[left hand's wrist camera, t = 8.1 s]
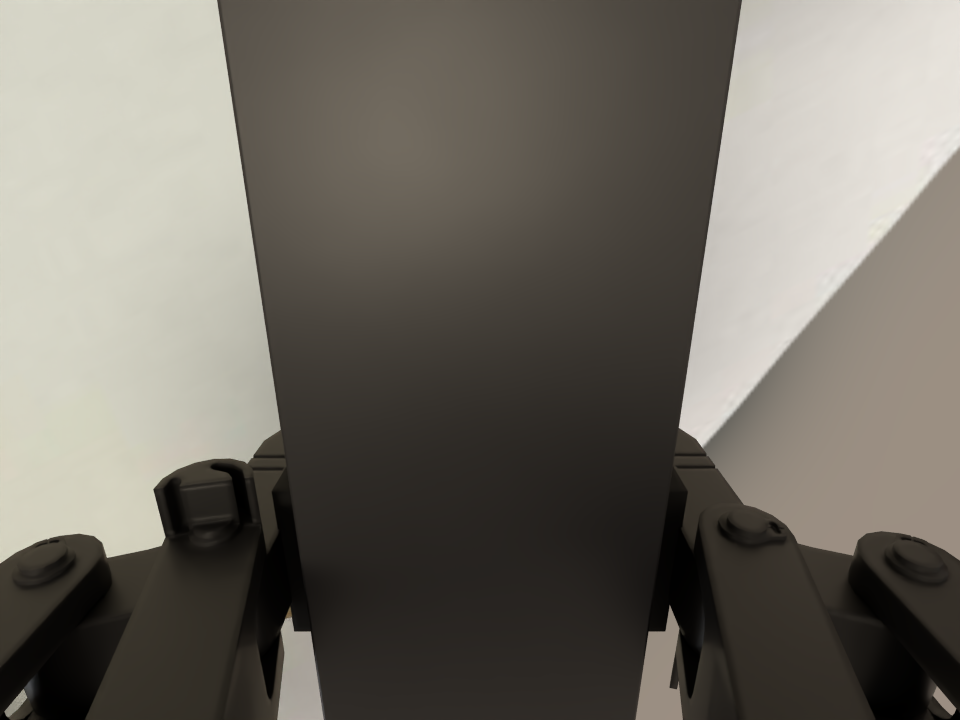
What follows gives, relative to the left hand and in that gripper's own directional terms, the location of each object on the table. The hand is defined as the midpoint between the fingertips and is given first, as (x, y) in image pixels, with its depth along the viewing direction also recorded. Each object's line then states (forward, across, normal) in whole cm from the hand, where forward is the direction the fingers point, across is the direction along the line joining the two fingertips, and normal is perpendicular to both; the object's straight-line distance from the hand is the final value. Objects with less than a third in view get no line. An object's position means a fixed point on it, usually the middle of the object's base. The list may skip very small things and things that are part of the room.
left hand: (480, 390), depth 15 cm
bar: (+1, 0, -8) cm, 8 cm away
